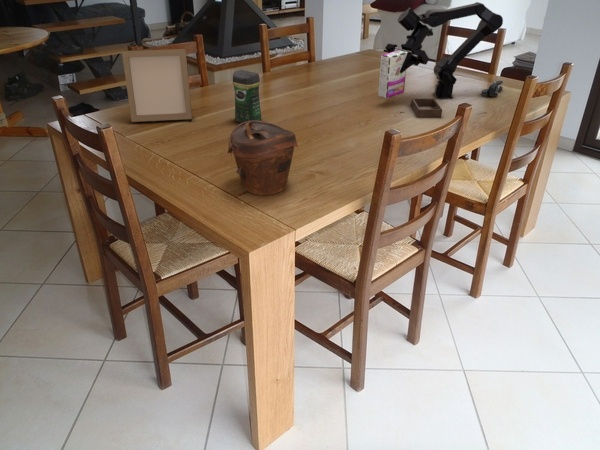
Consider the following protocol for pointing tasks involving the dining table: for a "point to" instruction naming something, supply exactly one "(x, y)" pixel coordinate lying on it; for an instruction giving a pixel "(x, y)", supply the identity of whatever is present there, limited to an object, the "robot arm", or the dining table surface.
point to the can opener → (493, 89)
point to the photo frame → (157, 84)
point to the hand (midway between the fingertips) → (395, 71)
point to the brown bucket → (262, 155)
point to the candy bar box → (392, 74)
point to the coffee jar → (246, 96)
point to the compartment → (426, 113)
